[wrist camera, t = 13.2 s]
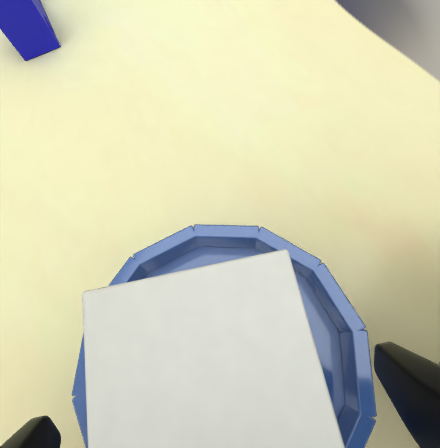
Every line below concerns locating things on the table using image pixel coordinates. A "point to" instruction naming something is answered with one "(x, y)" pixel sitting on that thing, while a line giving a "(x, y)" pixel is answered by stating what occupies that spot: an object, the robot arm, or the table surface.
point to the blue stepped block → (27, 27)
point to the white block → (206, 361)
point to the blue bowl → (313, 303)
